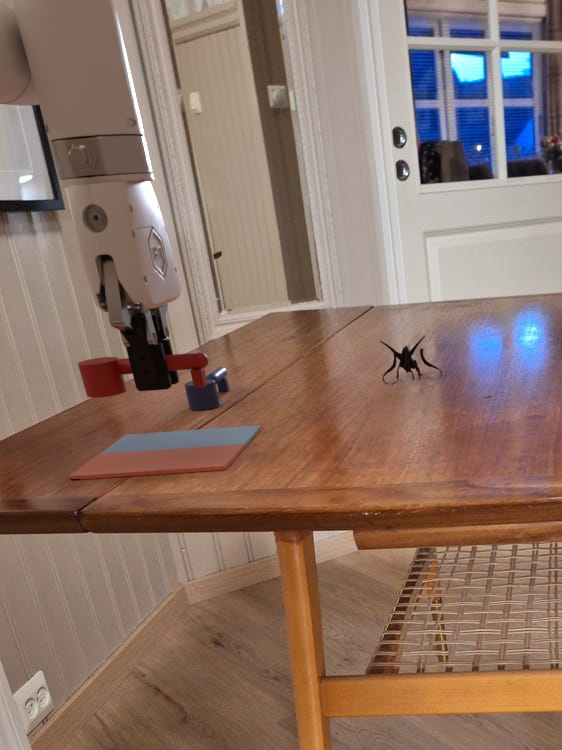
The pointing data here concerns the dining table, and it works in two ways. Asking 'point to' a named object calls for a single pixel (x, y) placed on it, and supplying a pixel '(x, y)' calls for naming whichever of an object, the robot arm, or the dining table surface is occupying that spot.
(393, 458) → the dining table surface
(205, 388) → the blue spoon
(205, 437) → the mat
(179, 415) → the dining table surface
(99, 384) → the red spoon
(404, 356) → the creature
